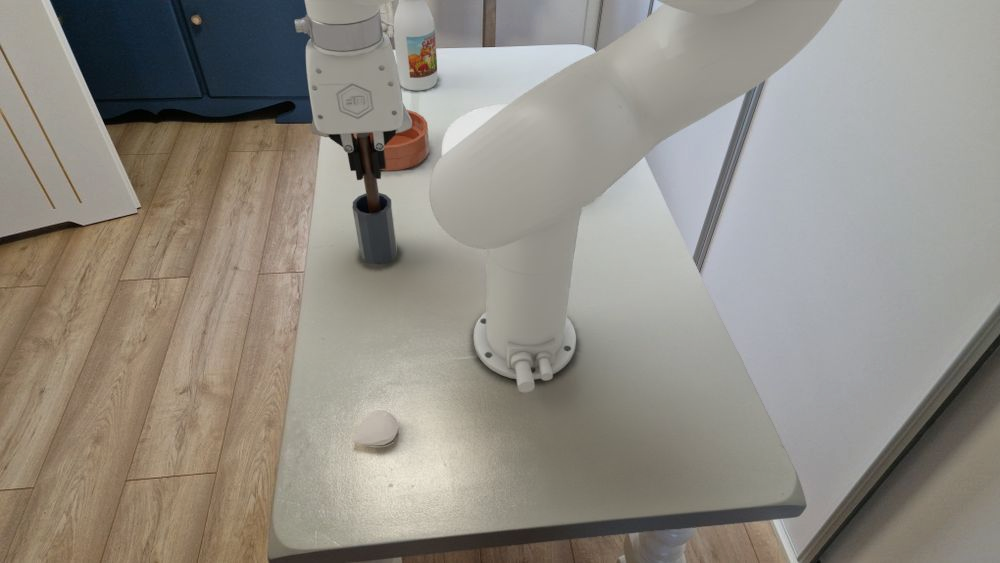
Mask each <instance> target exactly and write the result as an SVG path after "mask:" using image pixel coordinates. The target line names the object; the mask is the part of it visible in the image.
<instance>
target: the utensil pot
mask: <svg viewBox="0 0 1000 563" xmlns="http://www.w3.org/2000/svg"><path fill="white" fill-rule="evenodd" d="M379 198H380V205H381V211H379V212H377V213H369V208H368V202H367V196H366V193H363V194H360V195H358V196H357V197H356V198H355V199H354V200H353V201H352V206H351V208H352V213H353V220H354V225H355V231H356V236H357V242H358V243H357V244H358V248H359V253H360V257H361V259H362V260H363V261H364V262H365V263H367V264H370V265H375V266H376V265H385V264H387V263H390V262H391V261H393V260H394V259H395V257H396V256H397V254H398V246H397V239H396V229H395V221H394V213H393V204H392V199H391V198H390V197H389V196H388V195H387V194H385V193H381V192H379Z"/></svg>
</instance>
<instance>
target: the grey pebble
mask: <svg viewBox="0 0 1000 563" xmlns="http://www.w3.org/2000/svg"><path fill="white" fill-rule="evenodd" d="M398 437H399V424H398V421H397V418H396V417H395V416H394V415H393V414H392V413H391V412H389V411H387V410H384V409H377V410H374V411H372V412H370V413H369V414H368V415H366V416H365V418H363V420H362V421H361V423H360V424H359V425H358V427H357V429H356V431H355V433H354V436H353V438H352V442H353V443H355V444H358V445H361V446H365V447H370V448H385V447H386V448H387V447H389V446H390V445H392V444H394V443H395V441H396V440H397V439H398Z"/></svg>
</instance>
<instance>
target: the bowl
mask: <svg viewBox="0 0 1000 563" xmlns="http://www.w3.org/2000/svg"><path fill="white" fill-rule="evenodd" d="M406 110H407V112H408V113H409V115H410V117H411V119H412V127H411V128H410V129H408V130H405V131H403V132H401V133H397V134H395V136H394V137H393V138H392V139H391V140H390V141H389V142H388V143H387V144H386V145H385V147H384V154H385V162H386V169H381V171H387V172H388V171H389V172H391V171H394V172H395V171H400V170H405V169H410V168H412V167H414V166H416V165H418V164H420V163H421V162H422V161H424V160H425V159H426V158H427V157H428V154H429V153H430V142H429V140H430V139H429V128H428V127H429V126H428V121H427V120H426V118H425V117H424V116H422V115H421V114H420V113H418V112H415V111H413V110H409V109H406ZM369 133H370V138H371V141H372V138H373V132H369ZM354 136H355V138H356V139H357V133H354Z"/></svg>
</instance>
